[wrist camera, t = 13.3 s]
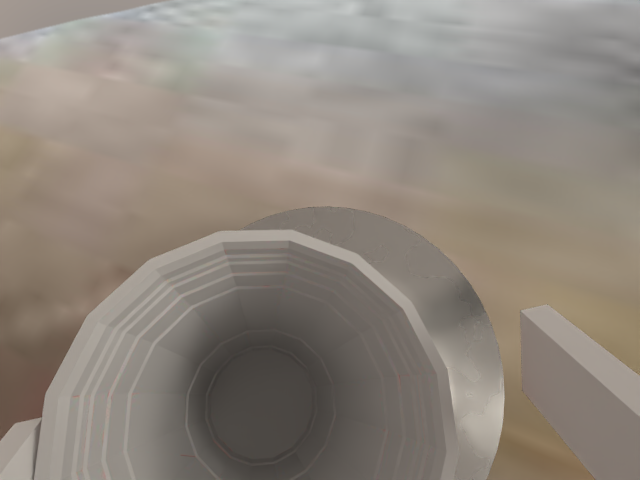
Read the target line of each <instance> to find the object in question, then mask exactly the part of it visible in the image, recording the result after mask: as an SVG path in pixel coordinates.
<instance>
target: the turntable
mask: <svg viewBox="0 0 640 480" xmlns="http://www.w3.org/2000/svg"><path fill="white" fill-rule="evenodd" d="M244 230H294V231H297V232H300V233H302V234H305V235H308V236H311V237H313V238H316V239H319V240H321V241H324V242H327V243H330V244H332V245H335V246H338V247H340V248H343V249H346V250H349V251H351V252H354V253H357V254H358V255H360V256H361V257H362V258H363V259H364V260H365V261H366V262H367V263H369V264H370V265H371V266H372V267H373V268H374V269H375V270H376V271H378V272H379V273H380V274H381V275H382V276H383V277H384V278H385V279H387V280H388V281H389V282H390V283H391V284H392V285H393V286H395V287H396V288H397V289H398V290H399V291H400V292H401V293H402V294H404V295H405V296H406V297H407V298H408V299H409V300H410V301H411V302H412V303H413V305H414V307H415V309H416V311H417V313H418V314H419V316H420V318H421V320H422V322H423V324H424V326H425V328H426V330H427V332H428V333H429V335H430V337H431V339H432V341H433V343H434V345H435V347H436V349H437V351H438V353H439V354H440V356H441V358H442V360H443V362H444V364H445V366H446V368H447V370H448V375H449V383H450V390H451V397H452V405H453V412H454V420H455V427H456V435H457V442H458V449H459V456H458V461H457V465H456V470H455V475H454V479H453V480H486V479H487V477H488V475H489V472H490V469H491V466H492V463H493V460H494V457H495V455H496V452H497V449H498V444H499V439H500V434H501V429H502V424H503V413H504V398H505V394H504V378H503V368H502V362H501V357H500V352H499V347H498V343H497V340H496V337H495V334H494V331H493V328H492V325H491V322H490V320H489V318H488V316H487V314H486V311H485V309H484V307H483V305H482V303H481V301H480V299H479V298H478V296H477V294H476V293H475V291H474V290H473V288H472V286H471V285H470V283H469V282H468V280H467V279H466V278H465V277H464V275H463V274H462V273H461V272H460V271H459V269H458V268H457V267H456V266H455V264H454V263H453V262H452V261H451V260H450V259H448V258H447V257H446V256H445V255H444V254H443V253H442V252H441V251H440V250H439V249H438V248H437V247H435V246H434V245H433V244H431V243H430V242H429V241H428V240H426V239H425V238H424V237H422V236H421V235H419V234H417V233H416V232H414V231H412V230H411V229H409V228H407V227H406V226H404V225H401V224H399V223H397V222H395V221H392V220H390V219H388V218H386V217H382V216H379V215H376V214H373V213H370V212H366V211H361V210H356V209H350V208H341V207H308V208H302V209H296V210H290V211H286V212H282V213H279V214H275V215H272V216H269V217H266V218H264V219H261V220H259V221H256V222H254V223H252V224H250V225H248V226H246V227H244V228H242V229H241V230H239V231H244Z"/></svg>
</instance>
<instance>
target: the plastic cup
mask: <svg viewBox="0 0 640 480" xmlns="http://www.w3.org/2000/svg"><path fill="white" fill-rule="evenodd" d="M458 456H459V449H458V442H457V435H456V427H455V420H454V412H453V405H452V397H451V390H450V383H449V375H448V370H447V368H446V366H445V364H444V362H443V360H442V358H441V356H440V354H439V353H438V351H437V349H436V347H435V345H434V343H433V341H432V339H431V337H430V335H429V333H428V332H427V330H426V328H425V326H424V324H423V322H422V320H421V318H420V316H419V314H418V313H417V311H416V309H415V307H414V305H413V303H412V302H411V301H410V300H409V299H408V298H407V297H406V296H405V295H404V294H402V293H401V292H400V291H399V290H398V289H397V288H396V287H395V286H393V285H392V284H391V283H390V282H389V281H388V280H387V279H385V278H384V277H383V276H382V275H381V274H380V273H379V272H378V271H376V270H375V269H374V268H373V267H372V266H371V265H370V264H369V263H367V262H366V261H365V260H364V259H363V258H362V257H361V256H360V255H358V254H357V253H354V252H351V251H349V250H346V249H343V248H340V247H338V246H335V245H332V244H330V243H327V242H324V241H321V240H319V239H316V238H313V237H311V236H308V235H305V234H302V233H300V232H297V231H294V230H244V231H218V232H216V233H213V234H211V235H208V236H206V237H204V238H201V239H199V240H196V241H194V242H191V243H189V244H186V245H184V246H181V247H179V248H176V249H174V250H171V251H169V252H166V253H164V254H161V255H159V256H157V257H154V258H152V259H149V260H148V261H147V262H146V263H145V264H143V265H142V266H141V267H140V268H139V269H138V270H137V271H136V272H135V273H133V274H132V275H131V276H130V277H129V278H128V279H127V280H126V281H125V282H124V283H122V284H121V285H120V286H119V287H118V288H117V289H116V290H115V291H114V292H112V293H111V294H110V295H109V296H108V297H107V298H106V299H105V300H104V301H103V302H101V303H100V304H99V305H98V306H97V307H96V308H95V309H94V310H93V311H91V312H90V313H89V314H88V315H87V317H86V319H85V321H84V322H83V324H82V326H81V328H80V330H79V332H78V334H77V336H76V337H75V339H74V341H73V343H72V345H71V347H70V349H69V351H68V353H67V354H66V356H65V358H64V360H63V362H62V364H61V366H60V368H59V369H58V371H57V373H56V375H55V377H54V379H53V381H52V383H51V384H50V386H49V388H48V390H47V392H46V394H45V399H44V407H43V414H42V422H41V430H40V437H39V445H38V452H37V460H36V467H35V475H34V480H453V479H454V475H455V470H456V465H457V461H458Z"/></svg>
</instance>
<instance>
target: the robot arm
mask: <svg viewBox="0 0 640 480" xmlns="http://www.w3.org/2000/svg"><path fill="white" fill-rule="evenodd" d="M520 324H521V364H522V391H523V392H524V393H525V394H526V396H527V397H528V398H529V399H530V400H531V402H532V403H533V404H534V405H535V407H536V408H537V409H538V410H539V411H540V413H541V414H542V415H543V416H544V418H545V419H546V420H547V421H548V422H549V424H550V425H551V426H552V427H553V429H554V430H555V431H556V432H557V433H558V435H559V436H560V437H561V438H562V439H563V441H564V442H565V443H566V444H567V446H568V447H569V448H570V449H571V450H572V452H573V453H574V454H575V455H576V457H577V458H578V459H579V460H580V461H581V463H582V464H583V465H584V466H585V467H586V469H587V470H588V471H589V472H590V474H591V475H592V476H593V477H594V478H595V480H640V376H639V375H638V374H636V373H635V372H634V371H633V370H631V369H630V368H629V367H627V366H626V365H625V364H624V363H622V362H621V361H620V360H618V359H617V358H616V357H615V356H613V355H612V354H611V353H609V352H608V351H607V350H606V349H604V348H603V347H602V346H600V345H599V344H598V343H596V342H595V341H594V340H593V339H591V338H590V337H589V336H587V335H586V334H585V333H584V332H582V331H581V330H580V329H578V328H577V327H576V326H575V325H573V324H572V323H571V322H569V321H568V320H567V319H566V318H564V317H563V316H562V315H560V314H559V313H558V312H557V311H555V310H554V309H553V308H551V307H550V306H549V305H548V304H547V305H542V306H538V307H533V308H529V309H524V310H520ZM41 422H42V417H41V418H37V419H32V420H28V421H23V422H19V423H15V424H14V425H13V426H12V427H11V429H10V430H9V431H8V432H7V433H6V435H5V436H4V437H3V438H2V440H1V441H0V480H34V475H35V467H36V460H37V452H38V445H39V437H40V430H41Z"/></svg>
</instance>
